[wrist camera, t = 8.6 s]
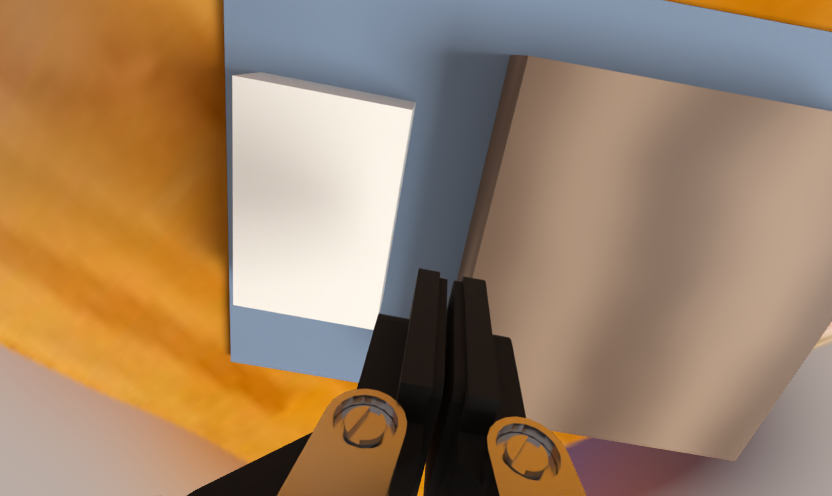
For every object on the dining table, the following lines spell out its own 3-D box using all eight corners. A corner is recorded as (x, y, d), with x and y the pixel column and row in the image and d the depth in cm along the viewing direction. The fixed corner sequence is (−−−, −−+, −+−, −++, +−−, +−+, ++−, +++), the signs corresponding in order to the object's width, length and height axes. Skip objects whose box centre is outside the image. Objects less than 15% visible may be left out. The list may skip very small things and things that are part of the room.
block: (853, 118, 16) (960, 134, 13) (690, 399, 22) (735, 461, 19) (510, 54, 16) (528, 55, 12) (438, 357, 22) (438, 411, 18)
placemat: (898, 47, 15) (910, 47, 15) (676, 430, 23) (679, 436, 23) (227, -80, 15) (222, -83, 14) (234, 356, 23) (230, 361, 22)
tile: (232, 75, 14) (261, 72, 16) (233, 305, 18) (256, 276, 20) (412, 110, 14) (416, 102, 17) (375, 330, 18) (382, 299, 20)
